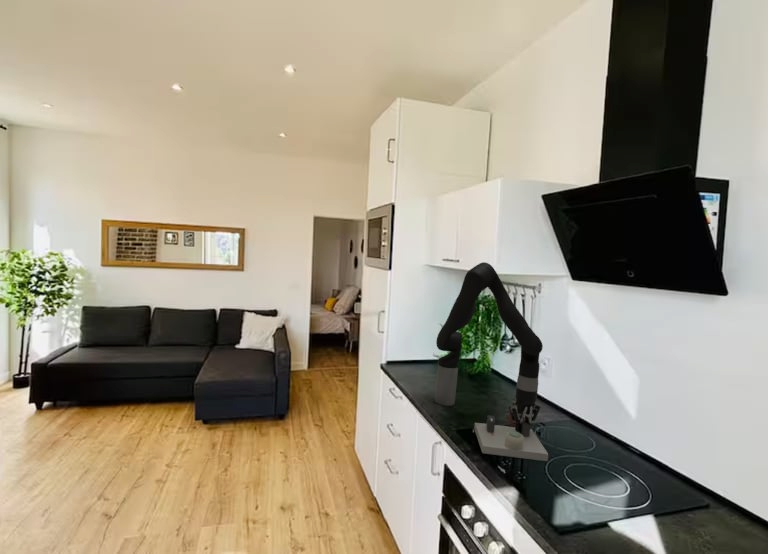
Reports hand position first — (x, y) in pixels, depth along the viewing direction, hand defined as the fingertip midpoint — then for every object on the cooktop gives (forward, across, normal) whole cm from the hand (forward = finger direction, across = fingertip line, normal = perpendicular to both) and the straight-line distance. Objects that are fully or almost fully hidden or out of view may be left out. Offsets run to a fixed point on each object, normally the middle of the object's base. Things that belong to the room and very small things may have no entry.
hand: (522, 431), depth 152 cm
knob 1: (0, -11, +6) cm, 12 cm away
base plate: (+3, -8, -2) cm, 8 cm away
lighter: (+3, +9, +12) cm, 15 cm away
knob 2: (0, 0, 0) cm, 0 cm away
